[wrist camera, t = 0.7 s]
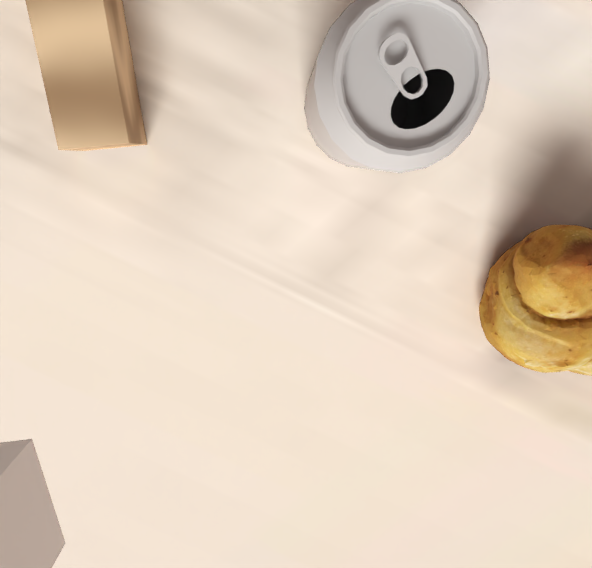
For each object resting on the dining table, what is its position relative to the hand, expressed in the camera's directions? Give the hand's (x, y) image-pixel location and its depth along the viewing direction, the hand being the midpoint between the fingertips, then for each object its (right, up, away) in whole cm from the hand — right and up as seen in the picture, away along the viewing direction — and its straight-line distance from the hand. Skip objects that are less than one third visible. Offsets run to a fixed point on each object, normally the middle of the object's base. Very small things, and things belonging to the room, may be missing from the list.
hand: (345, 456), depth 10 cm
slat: (-14, +21, +18) cm, 31 cm away
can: (+3, +15, +20) cm, 25 cm away
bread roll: (+18, +3, +24) cm, 30 cm away
